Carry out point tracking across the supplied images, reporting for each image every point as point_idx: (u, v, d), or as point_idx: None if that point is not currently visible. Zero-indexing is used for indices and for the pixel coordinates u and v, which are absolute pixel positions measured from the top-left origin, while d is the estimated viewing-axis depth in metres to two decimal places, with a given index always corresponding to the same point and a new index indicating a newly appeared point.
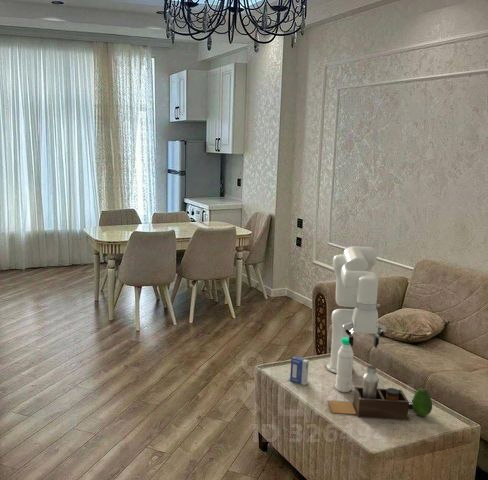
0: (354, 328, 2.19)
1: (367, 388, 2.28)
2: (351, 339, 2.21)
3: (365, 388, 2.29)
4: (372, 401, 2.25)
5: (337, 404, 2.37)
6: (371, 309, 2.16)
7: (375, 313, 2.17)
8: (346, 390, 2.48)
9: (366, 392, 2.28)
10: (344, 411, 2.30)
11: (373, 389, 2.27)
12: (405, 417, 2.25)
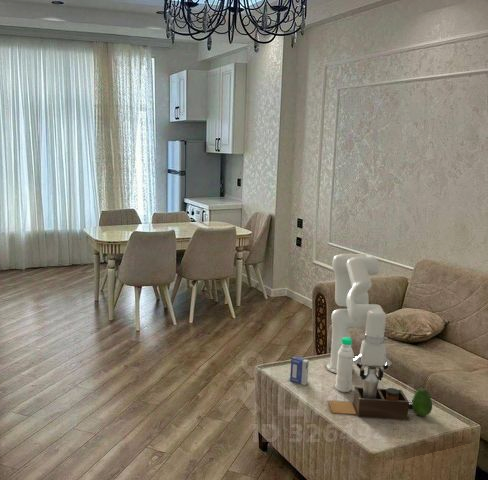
0: (362, 360, 2.26)
1: (367, 388, 2.28)
2: (362, 372, 2.28)
3: (365, 388, 2.29)
4: (372, 401, 2.25)
5: (337, 404, 2.37)
6: (379, 342, 2.22)
7: (383, 346, 2.24)
8: (346, 390, 2.48)
9: (366, 392, 2.28)
10: (344, 411, 2.30)
11: (373, 389, 2.27)
12: (405, 417, 2.25)
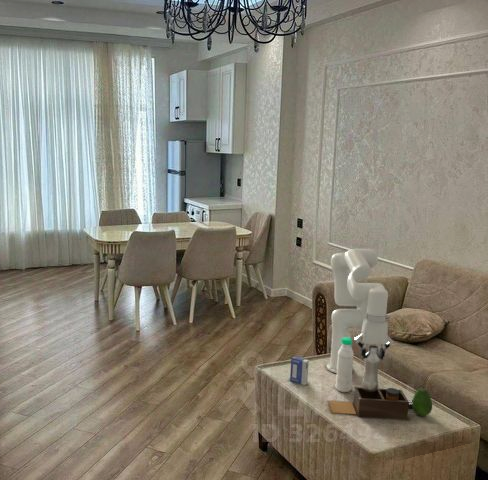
0: (364, 339, 2.24)
1: (368, 367, 2.26)
2: (364, 351, 2.26)
3: (366, 368, 2.27)
4: (372, 401, 2.25)
5: (337, 404, 2.37)
6: (381, 321, 2.20)
7: (385, 325, 2.22)
8: (346, 390, 2.48)
9: (368, 371, 2.27)
10: (344, 411, 2.30)
11: (375, 368, 2.26)
12: (405, 417, 2.25)
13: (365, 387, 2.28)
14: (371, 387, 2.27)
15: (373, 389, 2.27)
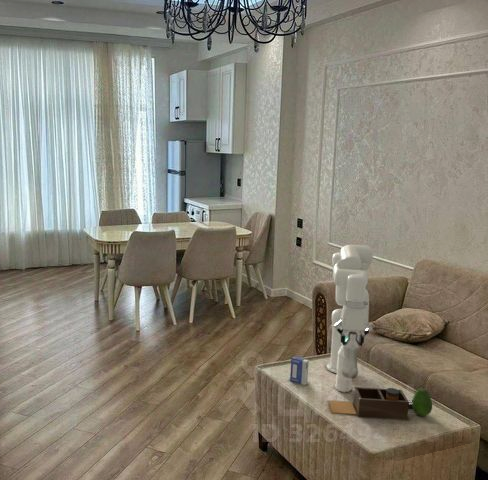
0: (343, 325, 2.25)
1: (348, 354, 2.27)
2: (343, 338, 2.26)
3: (346, 354, 2.27)
4: (372, 401, 2.25)
5: (337, 404, 2.37)
6: (359, 307, 2.21)
7: (363, 311, 2.22)
8: (346, 390, 2.48)
9: (347, 358, 2.27)
10: (344, 411, 2.30)
11: (354, 354, 2.26)
12: (405, 417, 2.25)
13: (345, 374, 2.28)
14: (351, 374, 2.27)
15: (353, 376, 2.28)
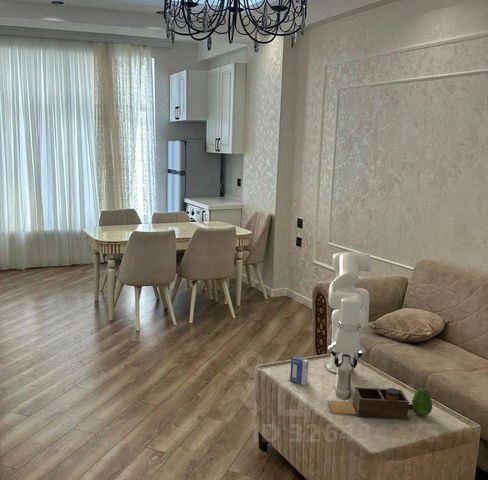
0: (336, 348, 2.27)
1: (341, 376, 2.29)
2: (336, 360, 2.29)
3: (339, 376, 2.30)
4: (372, 401, 2.25)
5: (337, 404, 2.37)
6: (352, 330, 2.23)
7: (356, 334, 2.25)
8: None
9: (341, 380, 2.30)
10: (344, 411, 2.30)
11: (347, 376, 2.28)
12: (405, 417, 2.25)
13: (338, 396, 2.31)
14: (344, 396, 2.30)
15: (346, 398, 2.30)
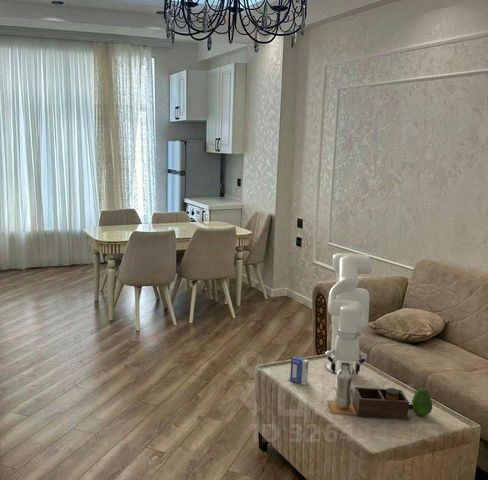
0: (336, 355, 2.28)
1: (340, 384, 2.30)
2: (333, 366, 2.30)
3: (339, 385, 2.31)
4: (372, 401, 2.25)
5: None
6: (352, 338, 2.24)
7: (356, 341, 2.25)
8: None
9: (340, 388, 2.31)
10: (344, 411, 2.30)
11: (347, 385, 2.29)
12: (405, 417, 2.25)
13: (338, 404, 2.32)
14: (343, 404, 2.31)
15: (345, 406, 2.31)
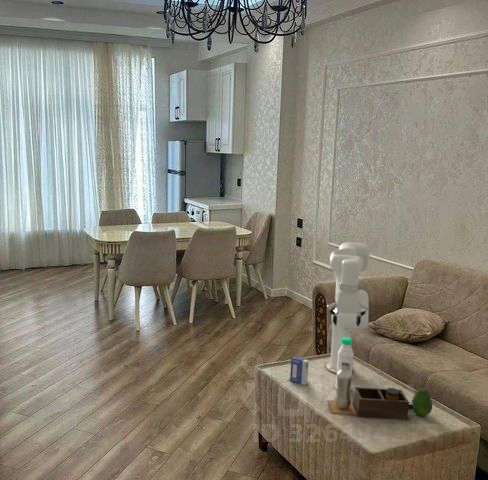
0: (337, 308, 2.35)
1: (340, 384, 2.30)
2: (335, 318, 2.37)
3: (339, 385, 2.31)
4: (372, 401, 2.25)
5: None
6: (353, 290, 2.32)
7: (357, 294, 2.33)
8: None
9: (340, 388, 2.31)
10: (344, 411, 2.30)
11: (347, 385, 2.29)
12: (405, 417, 2.25)
13: (338, 404, 2.32)
14: (343, 404, 2.31)
15: (345, 406, 2.31)
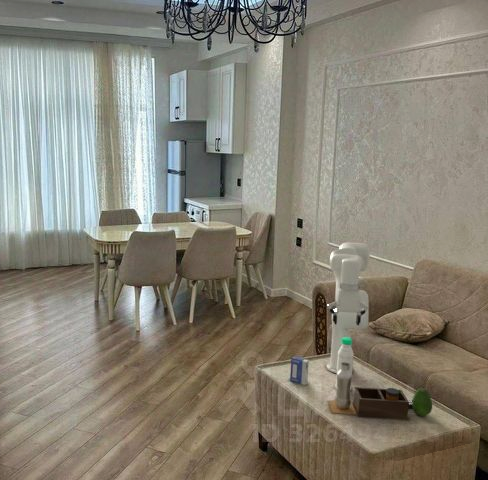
0: (338, 307, 2.36)
1: (340, 384, 2.30)
2: (335, 317, 2.38)
3: (339, 385, 2.31)
4: (372, 401, 2.25)
5: None
6: (353, 289, 2.32)
7: (357, 293, 2.33)
8: None
9: (340, 388, 2.31)
10: (344, 411, 2.30)
11: (347, 385, 2.29)
12: (405, 417, 2.25)
13: (338, 404, 2.32)
14: (343, 404, 2.31)
15: (345, 406, 2.31)
